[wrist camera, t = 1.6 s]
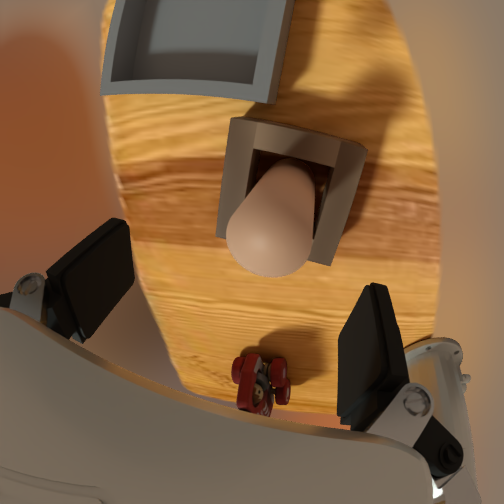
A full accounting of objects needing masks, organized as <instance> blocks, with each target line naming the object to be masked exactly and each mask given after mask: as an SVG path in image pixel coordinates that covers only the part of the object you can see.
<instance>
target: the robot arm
mask: <svg viewBox="0 0 504 504" xmlns="http://www.w3.org/2000/svg"><path fill="white" fill-rule="evenodd" d="M46 273H47V276H48V278H47V279H46V280H45V278H44V276H43V275H41V274H39V273H30V274H27V275H25V276H23V277H22V278H20V279H19V280H18V281H17V283H16V285H15V287H14V290H13V292H9V293H6V294H1V295H0V504H481V497H480V495H479V492H478V487H477V478H476V468H475V458H474V449H473V443H472V435H471V429H470V423H469V417H468V412H467V407H466V403H465V398H464V393H465V391H466V383H468V382H469V381H470V379H471V377H470V375H468V374H463V375H462V374H461V370H460V367H459V366H460V364H461V362H462V359H463V353H462V350H461V347H460V345H459V343H458V342H456V341H455V340H453V339H450V338H444V337H443V338H431V339H427V340H423V341H420V342H418V343H415V344H413V345H411V346H409V347H407V348H405V349H404V348H403V343H402V339H401V334H400V330H399V327H398V325H397V322H396V318H395V314H394V310H393V306H392V302H391V299H390V295H389V291H388V288H387V286H386V285H382V284H378V283H374V282H373V283H371V284H370V286H369V285H366V286H365V287H364V289H363V291H362V293H361V295H360V297H359V299H358V301H357V303H356V305H355V307H354V309H353V311H352V312H351V314H350V316H349V318H348V320H347V322H346V323H345V325H344V327H343V329H342V331H341V332H340V335H339V338H338V396H337V416H340V417H341V420H340V424H342V425H351V428H350V430H344V429H336V428H327V427H321V426H315V425H308V424H302V423H296V422H292V421H286V420H281V419H276V418H271V417H266V416H262V415H258V414H253V413H249V412H245V411H241V410H237V409H234V408H230V407H226V406H223V405H219V404H216V403H213V402H209V401H206V400H203V399H200V398H197V397H194V396H191V395H188V394H185V393H183V392H180V391H177V390H174V389H172V388H169V387H166V386H164V385H161V384H159V383H156V382H153V381H151V380H149V379H146V378H144V377H142V376H139V375H137V374H135V373H133V372H130V371H128V370H126V369H124V368H121V367H119V366H117V365H115V364H113V363H111V362H109V361H107V360H105V359H103V358H101V357H99V356H97V355H95V354H93V353H91V352H89V351H88V350H86V349H84V348H82V347H80V346H78V345H77V344H75V343H73V342H71V341H70V340H69V339H70V337H71V336H72V337H73V339H75V340H76V341H78V342H80V343H82V344H83V343H84V342H85V340H86V339H88V338H90V337H91V336H92V335H93V334H94V332H95V331H96V330H97V328H98V327H99V326H100V325H101V323H102V322H103V321H104V319H105V318H106V317H107V316H108V314H109V313H110V312H111V311H112V309H113V308H114V307H115V306H116V304H117V303H118V302H119V301H120V299H121V298H122V297H123V296H124V295H125V293H126V292H127V291H128V290H129V289H130V287H131V286H132V285H133V283H134V279H135V276H134V268H133V260H132V251H131V241H130V229H129V226H128V225H127V223H126V221H125V220H122V219H117V218H111V219H109V220H108V221H107V222H105V223H104V224H103V225H102V226H100V227H99V228H97V229H96V230H95V231H94V232H92V233H91V234H90V235H88V236H87V237H86V238H85V239H83V240H82V241H81V242H80V243H78V244H77V245H76V246H75V247H73V248H72V249H71V250H70V251H69V252H67V253H66V254H65V255H64V256H63V257H62V258H60V259H59V260H58V261H57V262H56V263H55V264H53V265H52V266H51V267H50V268H49V269H48V270H47V271H46Z"/></svg>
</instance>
